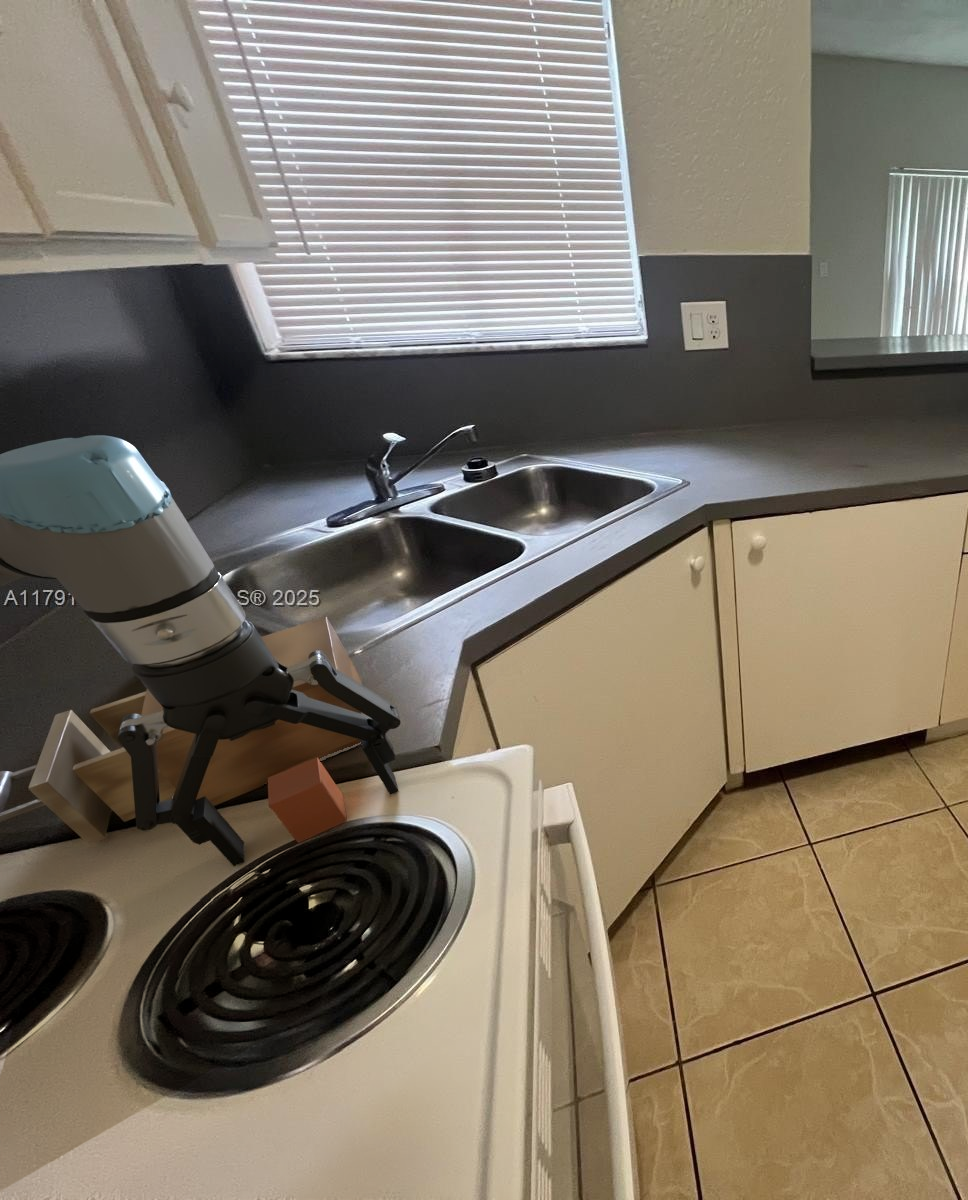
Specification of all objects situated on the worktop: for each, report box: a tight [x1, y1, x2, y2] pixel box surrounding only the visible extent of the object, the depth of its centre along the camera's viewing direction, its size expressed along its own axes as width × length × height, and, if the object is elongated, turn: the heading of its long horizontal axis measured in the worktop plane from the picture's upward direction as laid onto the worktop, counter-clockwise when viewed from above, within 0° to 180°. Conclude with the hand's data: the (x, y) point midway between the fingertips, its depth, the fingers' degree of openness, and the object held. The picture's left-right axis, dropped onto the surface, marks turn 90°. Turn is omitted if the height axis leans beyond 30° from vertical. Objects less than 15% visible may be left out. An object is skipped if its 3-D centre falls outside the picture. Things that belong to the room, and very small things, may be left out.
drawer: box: [0, 691, 176, 845], centre depth 62 cm, size 20×12×8 cm, turn 127°
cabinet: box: [141, 616, 367, 807], centre depth 67 cm, size 16×13×10 cm
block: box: [267, 758, 348, 844], centre depth 59 cm, size 4×4×6 cm
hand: (319, 818), depth 61 cm, fingers open, 12 cm apart
